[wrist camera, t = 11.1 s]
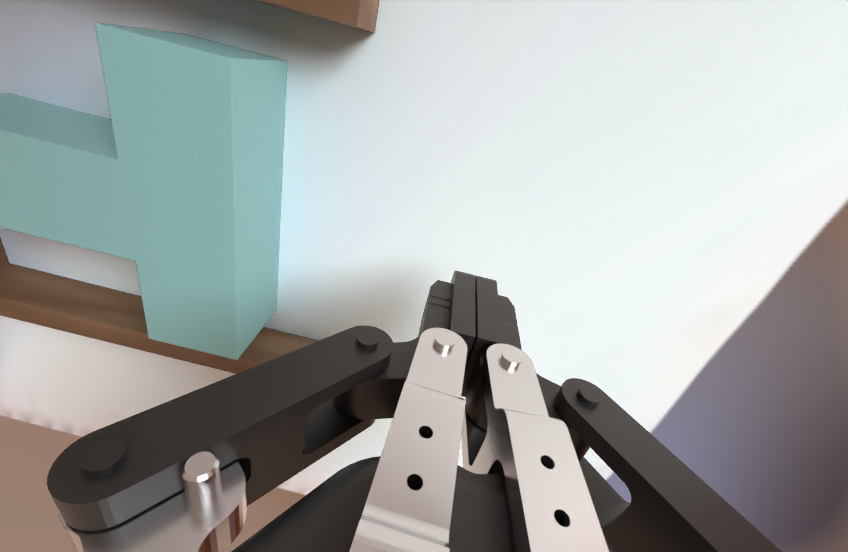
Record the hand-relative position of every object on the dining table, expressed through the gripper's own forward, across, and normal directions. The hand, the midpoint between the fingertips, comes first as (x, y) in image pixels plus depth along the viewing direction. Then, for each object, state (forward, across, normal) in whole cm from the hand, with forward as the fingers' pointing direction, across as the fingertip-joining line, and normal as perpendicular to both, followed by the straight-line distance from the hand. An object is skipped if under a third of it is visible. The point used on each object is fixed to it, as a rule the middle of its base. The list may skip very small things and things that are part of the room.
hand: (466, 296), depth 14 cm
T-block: (+4, +15, 0) cm, 15 cm away
